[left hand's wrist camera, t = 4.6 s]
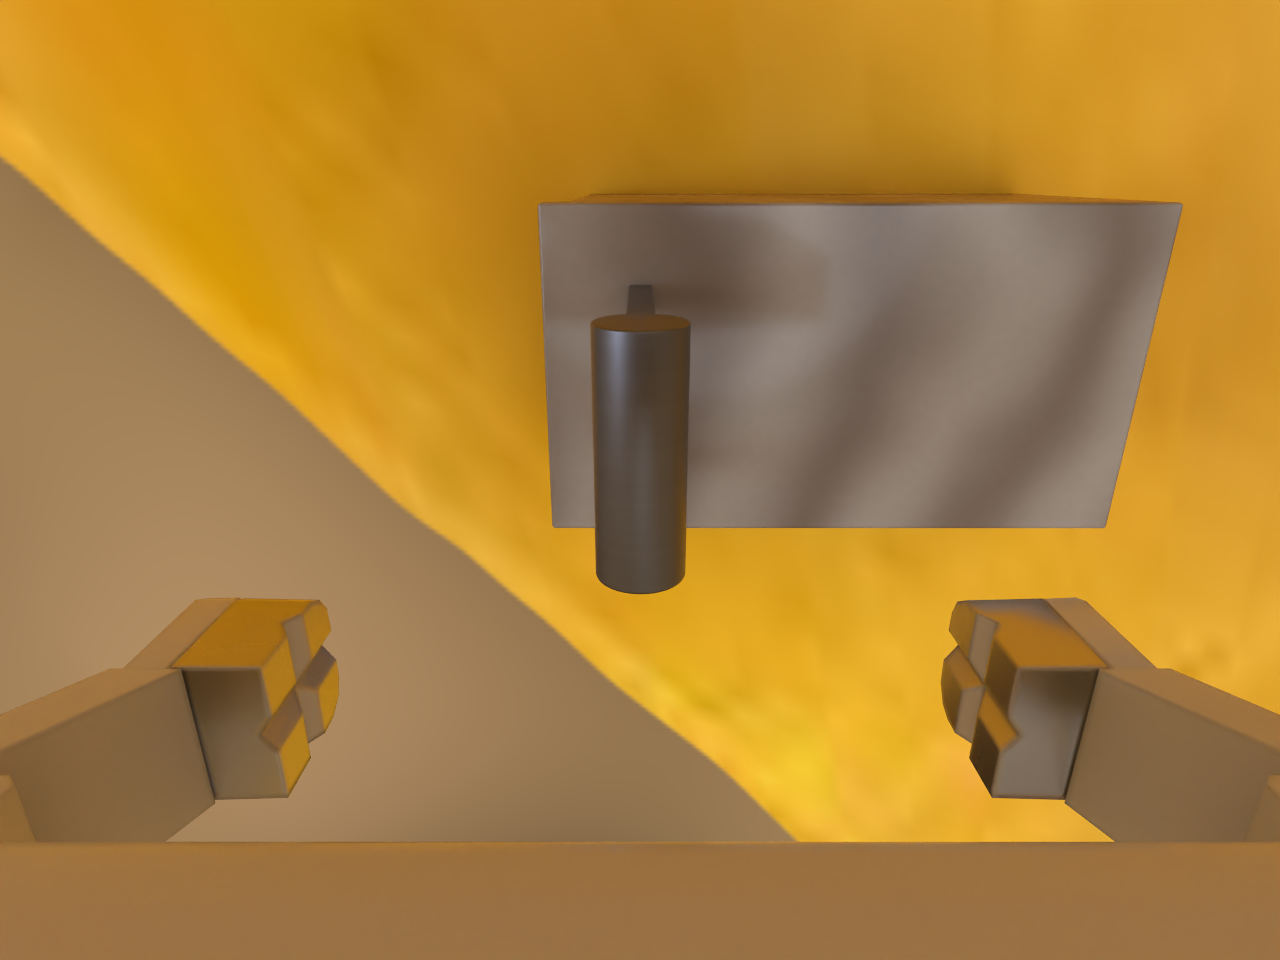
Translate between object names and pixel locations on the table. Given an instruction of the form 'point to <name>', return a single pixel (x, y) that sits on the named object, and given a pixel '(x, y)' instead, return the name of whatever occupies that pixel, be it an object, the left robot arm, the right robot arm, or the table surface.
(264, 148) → the table surface
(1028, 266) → the lid
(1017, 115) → the table surface
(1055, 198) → the chest
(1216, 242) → the table surface
